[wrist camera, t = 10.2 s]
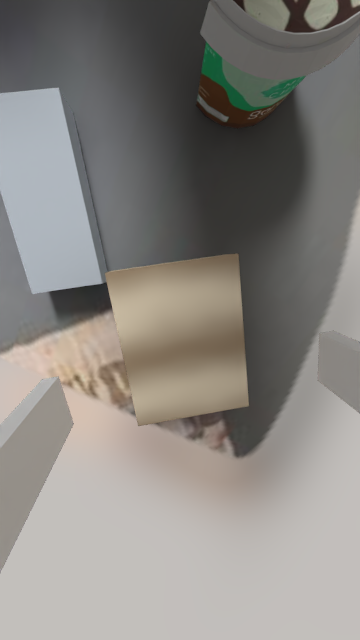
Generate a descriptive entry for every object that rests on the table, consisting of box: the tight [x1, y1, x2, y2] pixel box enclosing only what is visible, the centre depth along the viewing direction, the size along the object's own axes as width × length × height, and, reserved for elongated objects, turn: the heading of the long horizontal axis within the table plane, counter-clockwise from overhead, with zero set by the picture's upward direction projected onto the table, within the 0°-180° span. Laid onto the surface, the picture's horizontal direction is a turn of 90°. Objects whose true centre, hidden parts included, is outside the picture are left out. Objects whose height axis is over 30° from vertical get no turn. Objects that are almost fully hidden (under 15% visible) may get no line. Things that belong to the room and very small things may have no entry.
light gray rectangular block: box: [0, 88, 107, 294], centre depth 20 cm, size 14×6×3 cm, turn 8°
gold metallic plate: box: [105, 254, 249, 426], centre depth 18 cm, size 12×9×3 cm
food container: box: [196, 0, 360, 129], centre depth 16 cm, size 12×6×10 cm, turn 135°
